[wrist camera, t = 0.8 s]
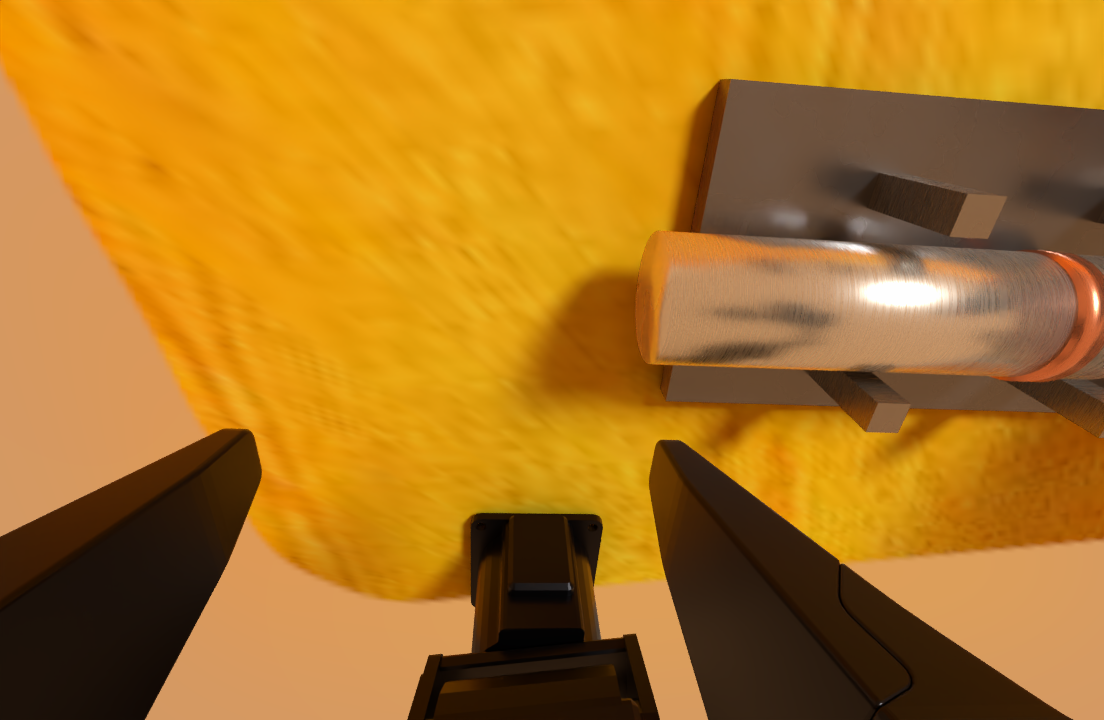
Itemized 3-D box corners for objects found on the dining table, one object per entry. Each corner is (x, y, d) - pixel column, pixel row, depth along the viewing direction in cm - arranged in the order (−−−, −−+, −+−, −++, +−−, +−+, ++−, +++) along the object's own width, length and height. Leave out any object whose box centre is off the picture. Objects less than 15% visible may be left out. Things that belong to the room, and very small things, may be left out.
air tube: (1005, 344, 22) (1113, 409, 18) (629, 328, 20) (655, 396, 16) (1069, 236, 19) (1209, 285, 15) (649, 211, 18) (685, 257, 14)
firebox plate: (1074, 401, 24) (1197, 471, 20) (660, 388, 23) (694, 461, 18) (1251, 123, 19) (1476, 134, 14) (720, 79, 17) (789, 76, 13)
